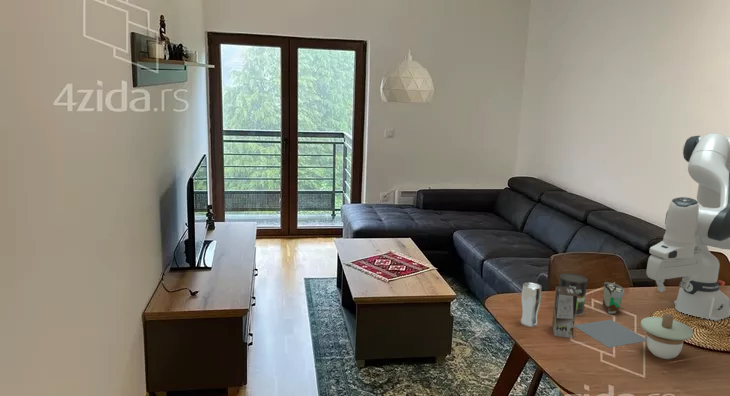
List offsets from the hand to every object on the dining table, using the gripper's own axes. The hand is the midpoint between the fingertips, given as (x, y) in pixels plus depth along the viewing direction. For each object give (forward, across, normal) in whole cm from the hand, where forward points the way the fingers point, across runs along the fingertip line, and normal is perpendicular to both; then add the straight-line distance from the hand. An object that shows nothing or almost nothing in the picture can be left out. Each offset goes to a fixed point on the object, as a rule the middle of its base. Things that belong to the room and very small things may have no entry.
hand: (672, 289), depth 171 cm
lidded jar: (+24, 0, 0) cm, 24 cm away
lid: (+14, 0, 0) cm, 14 cm away
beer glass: (+23, +28, -34) cm, 50 cm away
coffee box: (+23, +21, -24) cm, 40 cm away
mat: (+23, +5, -18) cm, 30 cm away
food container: (+24, -12, -34) cm, 43 cm away
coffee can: (+24, +5, -39) cm, 46 cm away
